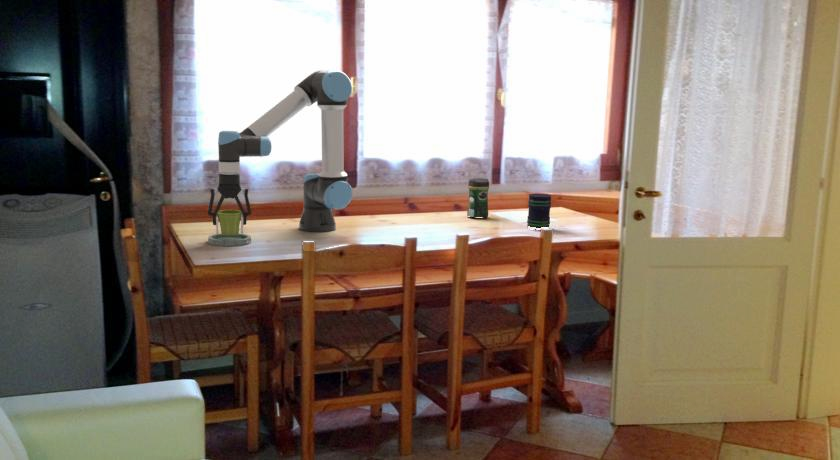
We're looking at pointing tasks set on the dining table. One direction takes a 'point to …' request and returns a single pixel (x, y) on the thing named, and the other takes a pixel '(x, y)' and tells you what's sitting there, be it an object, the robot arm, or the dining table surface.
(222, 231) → the plant pot
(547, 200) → the storage jar
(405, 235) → the dining table surface
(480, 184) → the coffee jar
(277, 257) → the dining table surface
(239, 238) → the saucer
